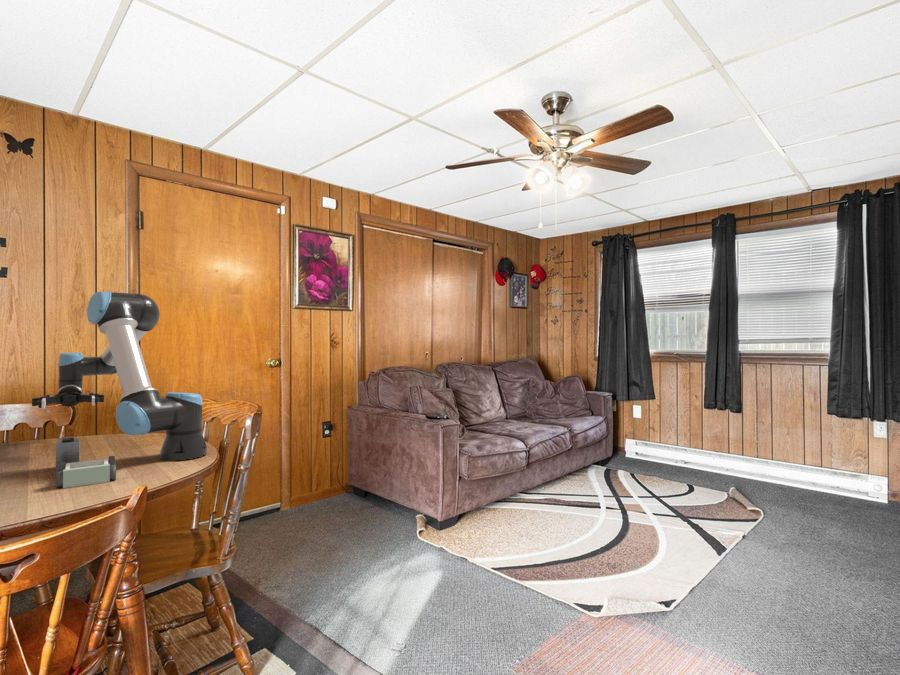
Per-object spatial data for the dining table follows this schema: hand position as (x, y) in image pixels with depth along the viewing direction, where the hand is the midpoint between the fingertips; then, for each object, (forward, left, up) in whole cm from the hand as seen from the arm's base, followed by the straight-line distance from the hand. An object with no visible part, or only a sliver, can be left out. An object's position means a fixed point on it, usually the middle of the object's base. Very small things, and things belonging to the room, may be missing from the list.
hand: (68, 403), depth 167 cm
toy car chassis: (+5, +25, -20) cm, 33 cm away
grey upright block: (+3, +8, -20) cm, 22 cm away
